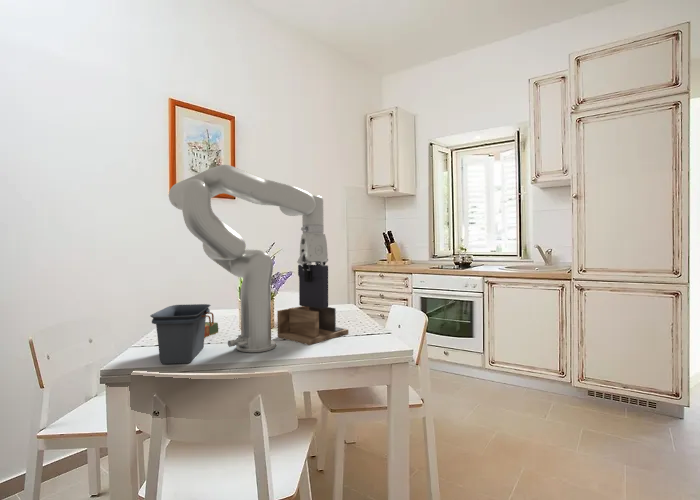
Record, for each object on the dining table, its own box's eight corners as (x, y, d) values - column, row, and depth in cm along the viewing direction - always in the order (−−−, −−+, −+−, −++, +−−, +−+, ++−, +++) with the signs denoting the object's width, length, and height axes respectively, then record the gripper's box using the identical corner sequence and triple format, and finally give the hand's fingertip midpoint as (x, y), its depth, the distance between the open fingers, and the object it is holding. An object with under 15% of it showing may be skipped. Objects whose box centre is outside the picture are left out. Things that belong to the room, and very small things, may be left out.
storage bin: (171, 347, 136) (169, 303, 136) (219, 345, 138) (219, 302, 138) (147, 368, 115) (146, 317, 115) (205, 365, 117) (204, 315, 116)
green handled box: (170, 342, 144) (169, 330, 144) (200, 331, 159) (199, 320, 159) (190, 344, 141) (190, 331, 141) (218, 333, 157) (218, 321, 156)
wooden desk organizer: (309, 344, 138) (308, 314, 138) (277, 337, 148) (277, 309, 148) (348, 333, 153) (348, 306, 153) (317, 327, 164) (317, 301, 163)
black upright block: (329, 307, 149) (329, 265, 149) (322, 308, 146) (322, 265, 145) (305, 304, 155) (305, 264, 155) (298, 306, 151) (297, 264, 151)
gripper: (302, 230, 140) (303, 284, 141) (336, 230, 153) (337, 279, 154) (288, 230, 145) (288, 282, 146) (322, 230, 158) (322, 278, 159)
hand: (313, 280), depth 150 cm, fingers closed on black upright block, 4 cm apart
